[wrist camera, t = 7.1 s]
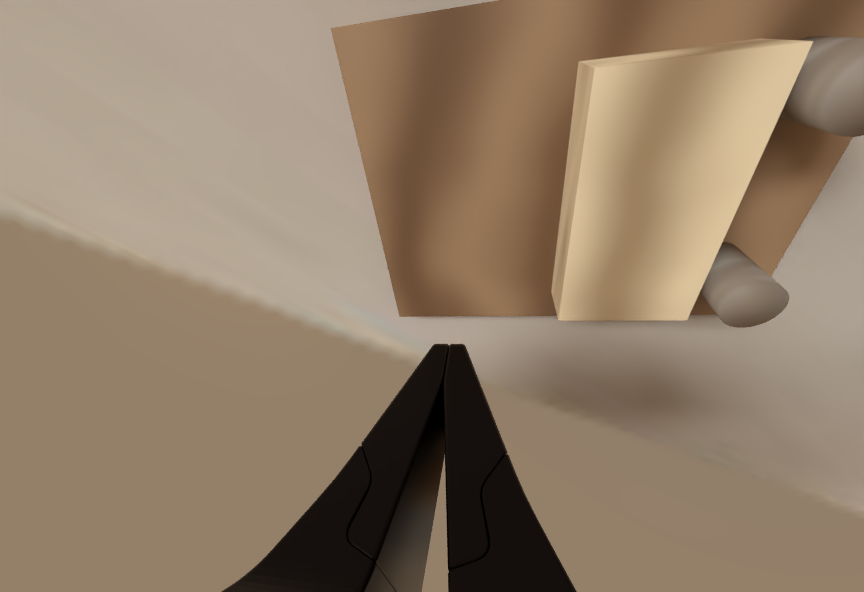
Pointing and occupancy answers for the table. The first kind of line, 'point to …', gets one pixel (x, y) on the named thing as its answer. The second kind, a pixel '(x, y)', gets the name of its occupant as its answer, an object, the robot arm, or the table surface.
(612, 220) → the maple plate
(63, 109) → the table surface
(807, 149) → the board
